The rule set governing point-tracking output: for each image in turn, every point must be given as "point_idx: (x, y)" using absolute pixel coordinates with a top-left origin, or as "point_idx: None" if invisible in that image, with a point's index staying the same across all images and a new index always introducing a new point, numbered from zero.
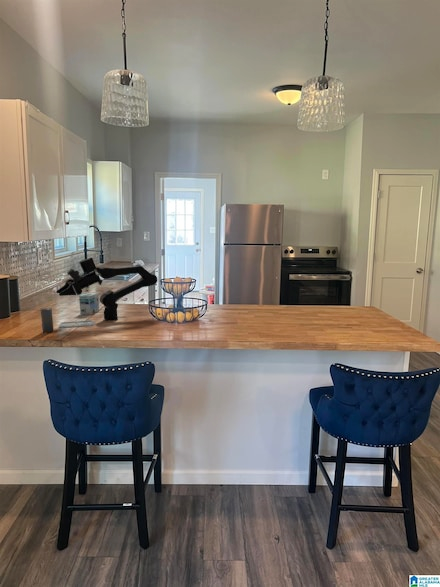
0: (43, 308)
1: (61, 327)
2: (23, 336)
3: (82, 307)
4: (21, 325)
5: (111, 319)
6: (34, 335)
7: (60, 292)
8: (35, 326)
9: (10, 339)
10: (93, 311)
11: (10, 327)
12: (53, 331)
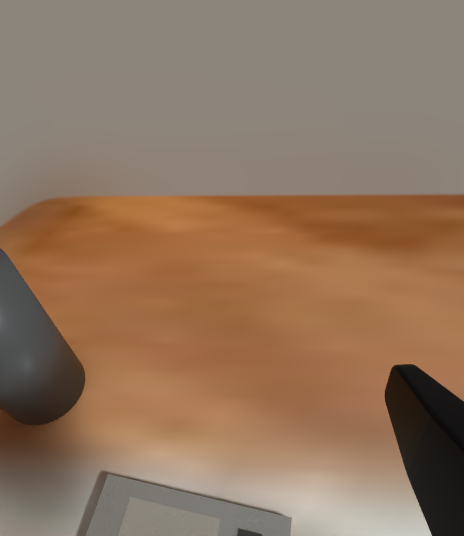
0: (10, 264)
1: (99, 501)
2: (42, 257)
3: None
4: (345, 253)
5: None
6: None
7: (411, 477)
8: (276, 319)
9: (29, 211)
10: None
11: (314, 211)
12: (21, 422)
